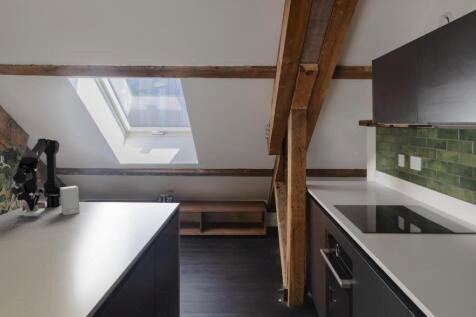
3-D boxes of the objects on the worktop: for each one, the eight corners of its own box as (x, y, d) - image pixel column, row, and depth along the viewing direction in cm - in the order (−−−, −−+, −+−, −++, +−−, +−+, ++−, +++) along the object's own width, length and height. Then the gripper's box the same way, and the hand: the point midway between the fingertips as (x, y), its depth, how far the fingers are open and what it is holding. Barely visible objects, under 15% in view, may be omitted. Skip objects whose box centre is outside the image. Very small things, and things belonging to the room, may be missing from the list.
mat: (53, 211, 180) (52, 211, 180) (41, 220, 164) (41, 219, 164) (31, 212, 178) (31, 212, 178) (17, 221, 162) (17, 220, 162)
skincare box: (77, 211, 182) (76, 185, 180) (80, 213, 177) (79, 186, 176) (60, 213, 177) (59, 186, 175) (63, 215, 172) (61, 188, 171)
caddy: (45, 210, 180) (44, 202, 180) (39, 214, 172) (38, 205, 172) (29, 211, 179) (28, 202, 178) (22, 215, 171) (22, 206, 170)
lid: (45, 212, 172) (44, 203, 171) (38, 216, 164) (38, 207, 163) (27, 212, 170) (26, 204, 170) (19, 217, 162) (19, 208, 161)
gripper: (21, 177, 172) (23, 206, 174) (4, 183, 154) (6, 215, 156) (44, 177, 175) (46, 205, 176) (29, 183, 157) (31, 214, 158)
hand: (32, 209), depth 167 cm, fingers closed on lid, 2 cm apart
